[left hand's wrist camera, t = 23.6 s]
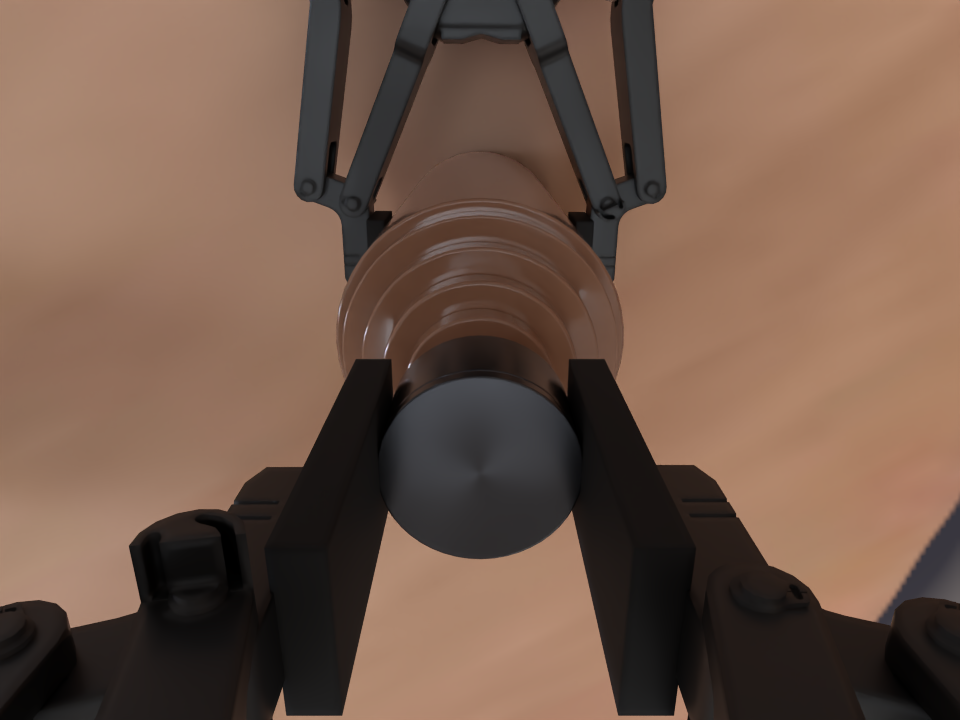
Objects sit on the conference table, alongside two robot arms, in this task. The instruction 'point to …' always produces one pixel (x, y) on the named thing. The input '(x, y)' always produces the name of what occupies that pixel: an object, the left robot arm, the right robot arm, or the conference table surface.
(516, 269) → the bottle
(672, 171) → the conference table surface
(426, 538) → the cap
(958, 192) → the conference table surface
